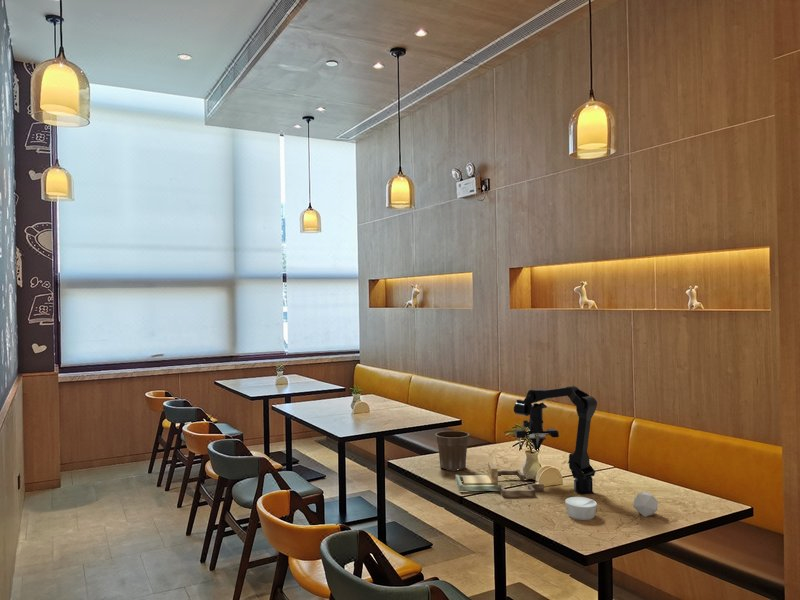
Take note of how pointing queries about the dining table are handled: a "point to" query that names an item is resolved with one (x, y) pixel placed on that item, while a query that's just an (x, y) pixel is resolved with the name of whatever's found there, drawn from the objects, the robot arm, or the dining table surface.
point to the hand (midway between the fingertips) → (536, 452)
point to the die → (645, 504)
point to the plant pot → (452, 449)
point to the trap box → (505, 493)
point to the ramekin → (581, 508)
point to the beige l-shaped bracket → (483, 477)
